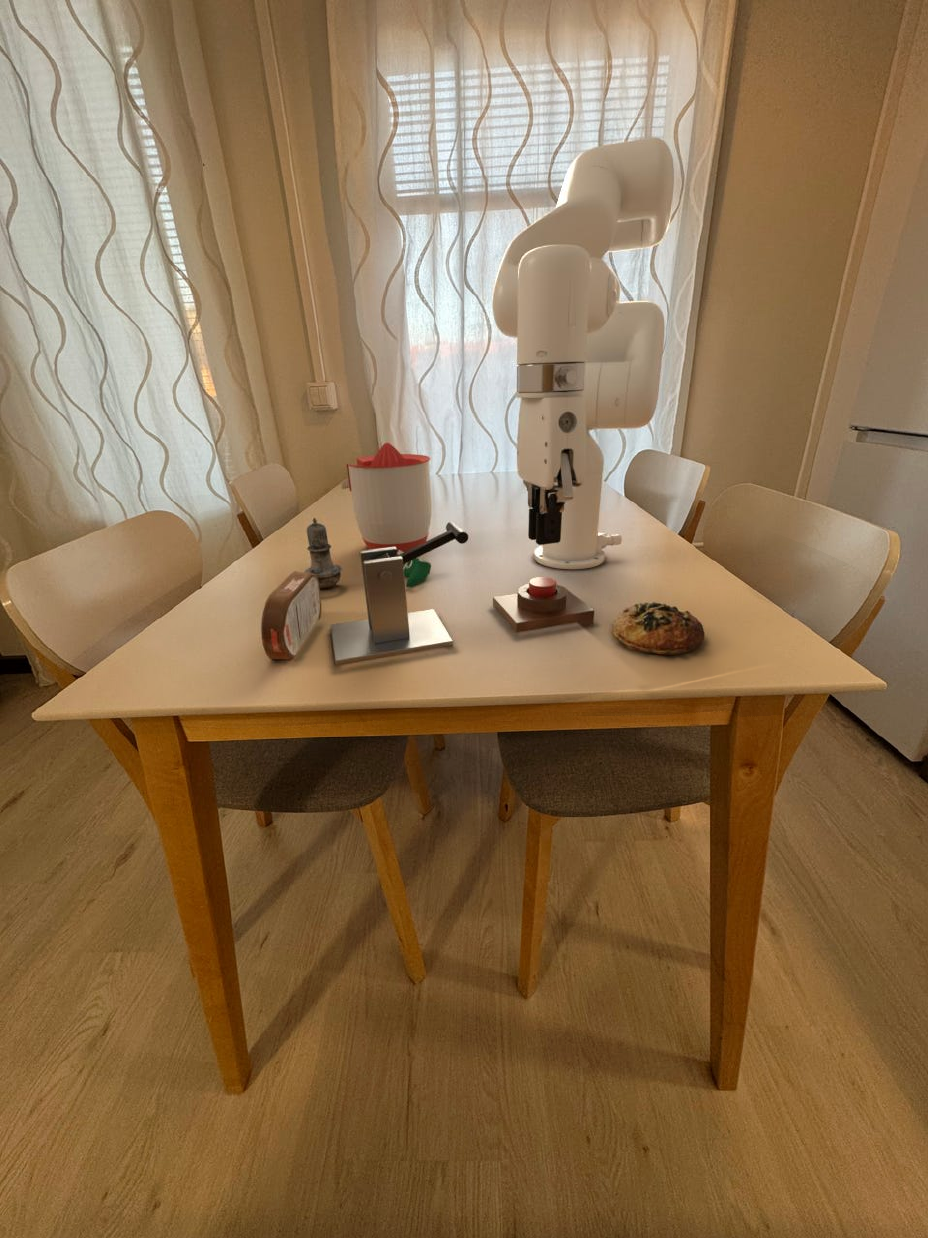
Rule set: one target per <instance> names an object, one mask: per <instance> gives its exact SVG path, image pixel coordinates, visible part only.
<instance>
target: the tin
mask: <svg viewBox="0 0 928 1238" xmlns="http://www.w3.org/2000/svg"><path fill="white" fill-rule="evenodd" d="M321 616H322V600H321V589H319V580H318V578H317V576H316V575H315V574H313V573H304V571H303V572H300V571H297V570H296V571H295V570H294V571H293V572H291V573H290V574H289V575H288V576H287V577H285V579H284V580H283V581H282V582H281V583H280V584H279V585H278V586H276V588H275V589H274V590H273V591H272V592H271V593H270V594H269V595H268V597H267V598H266V601H265V603H264V607H263V611H262V615H261V623H260V631H261V643H262V647H263V650H264V653H265V655H266V656H267V658H269V659H270V660H271V661H273V660H284V661H285V660H293V659H294V658H295V657H296V654H297V652H298V650H299V649H300V648H301V646H302V645H303V644H304V642H305V641H306V639H307V638H308V636H309V635H310V633H311V631H312V630H313V628H314V626H315V625H316V624H317V623H318V621H320V619H321Z"/></svg>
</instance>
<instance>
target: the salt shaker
mask: <svg viewBox="0 0 928 1238" xmlns="http://www.w3.org/2000/svg"><path fill="white" fill-rule="evenodd" d="M317 521H318V519H316V517H313V519H312V523H311V524H309V525H308V526H307V527H306V535H307V541H308V546H307V548H306V550H307V551H309V556H310V567H309V568H307V569H305V570H304V571H303V573H313V574H315V575H316V576H317V578H318V580H319V589H320V590H328V589H333V588H341V587H342V586H341V585H339V584H338V583H339V581H340V579H341V575H342V571H343V567H342V566H340V565H339V564H334V562H333V560H332V557H331V550H330V549H331V548H332V545H331V544H329V541H328V540H329V539H328V534H327V533H328V532H327V528H326V526H325V525H324V524H322V523H319V522H317Z"/></svg>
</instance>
